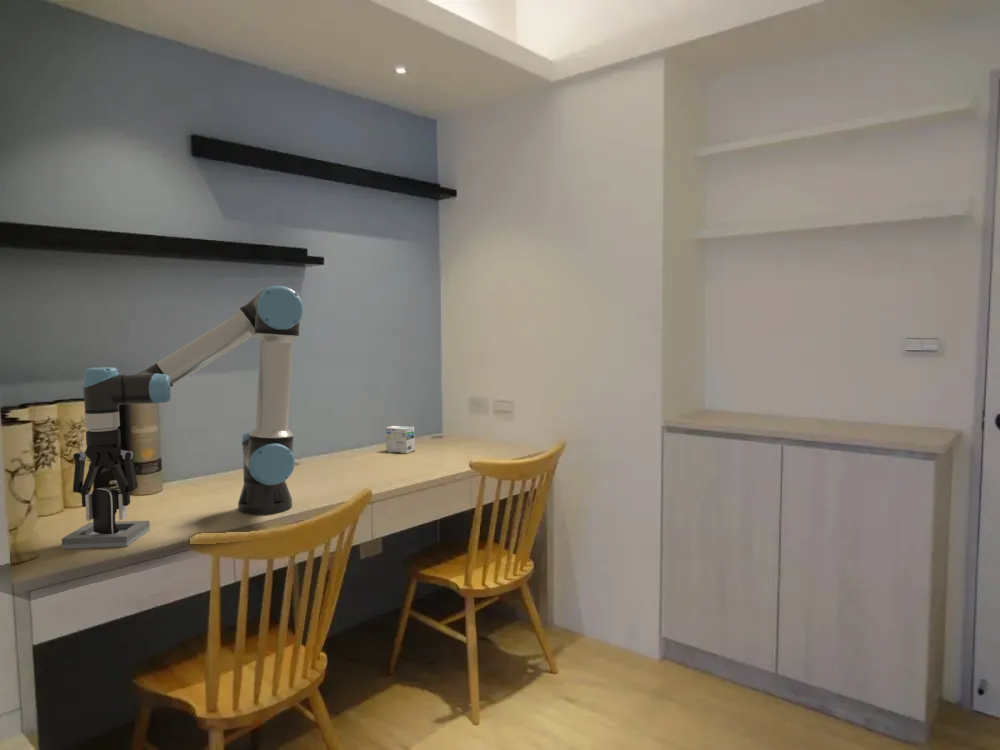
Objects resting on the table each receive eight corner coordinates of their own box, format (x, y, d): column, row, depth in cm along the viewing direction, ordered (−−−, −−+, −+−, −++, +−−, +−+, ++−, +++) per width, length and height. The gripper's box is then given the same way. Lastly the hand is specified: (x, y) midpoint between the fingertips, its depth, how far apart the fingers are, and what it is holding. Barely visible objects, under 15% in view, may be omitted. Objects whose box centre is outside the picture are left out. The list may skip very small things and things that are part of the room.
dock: (149, 529, 184) (149, 520, 184) (126, 546, 170) (126, 536, 170) (90, 531, 182) (89, 522, 182) (62, 548, 169) (61, 538, 168)
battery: (124, 532, 176) (122, 488, 176) (109, 536, 173) (107, 491, 172) (106, 528, 180) (105, 485, 179) (92, 532, 176) (90, 488, 175)
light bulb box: (415, 451, 298) (414, 426, 298) (407, 454, 292) (406, 428, 291) (394, 449, 303) (393, 425, 302) (385, 452, 296) (385, 427, 296)
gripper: (150, 426, 179) (154, 513, 181) (68, 427, 177) (72, 515, 179) (138, 430, 172) (142, 521, 173) (52, 432, 170) (57, 524, 171)
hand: (107, 518), depth 176 cm, fingers closed on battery, 7 cm apart
